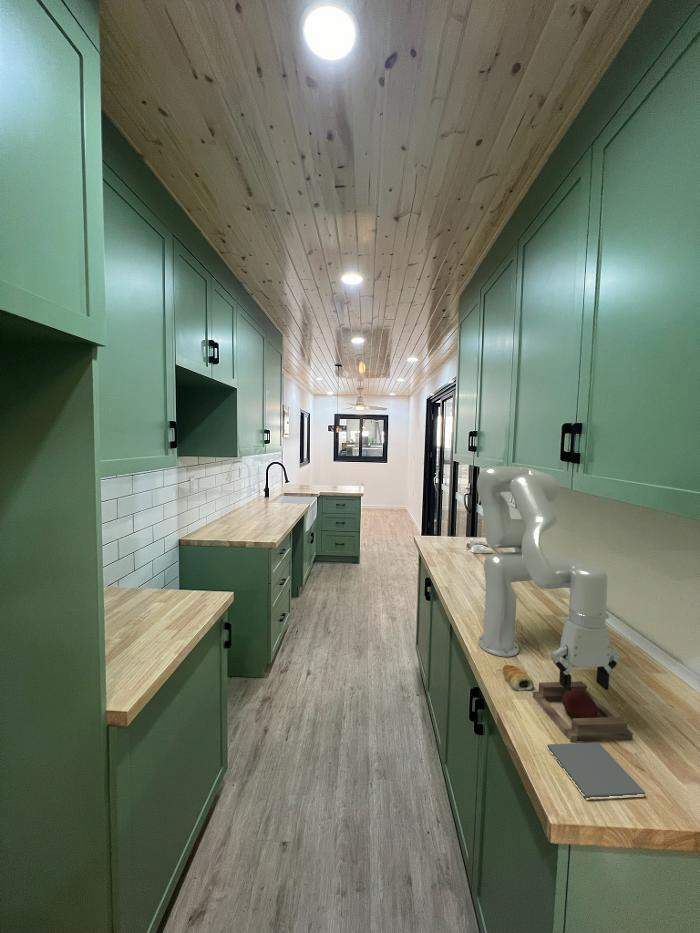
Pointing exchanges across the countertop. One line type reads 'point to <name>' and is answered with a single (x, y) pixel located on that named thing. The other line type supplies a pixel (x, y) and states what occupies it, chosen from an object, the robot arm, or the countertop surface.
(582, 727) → the holder
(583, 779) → the mat
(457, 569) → the countertop surface
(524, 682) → the pastry
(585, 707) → the potato
